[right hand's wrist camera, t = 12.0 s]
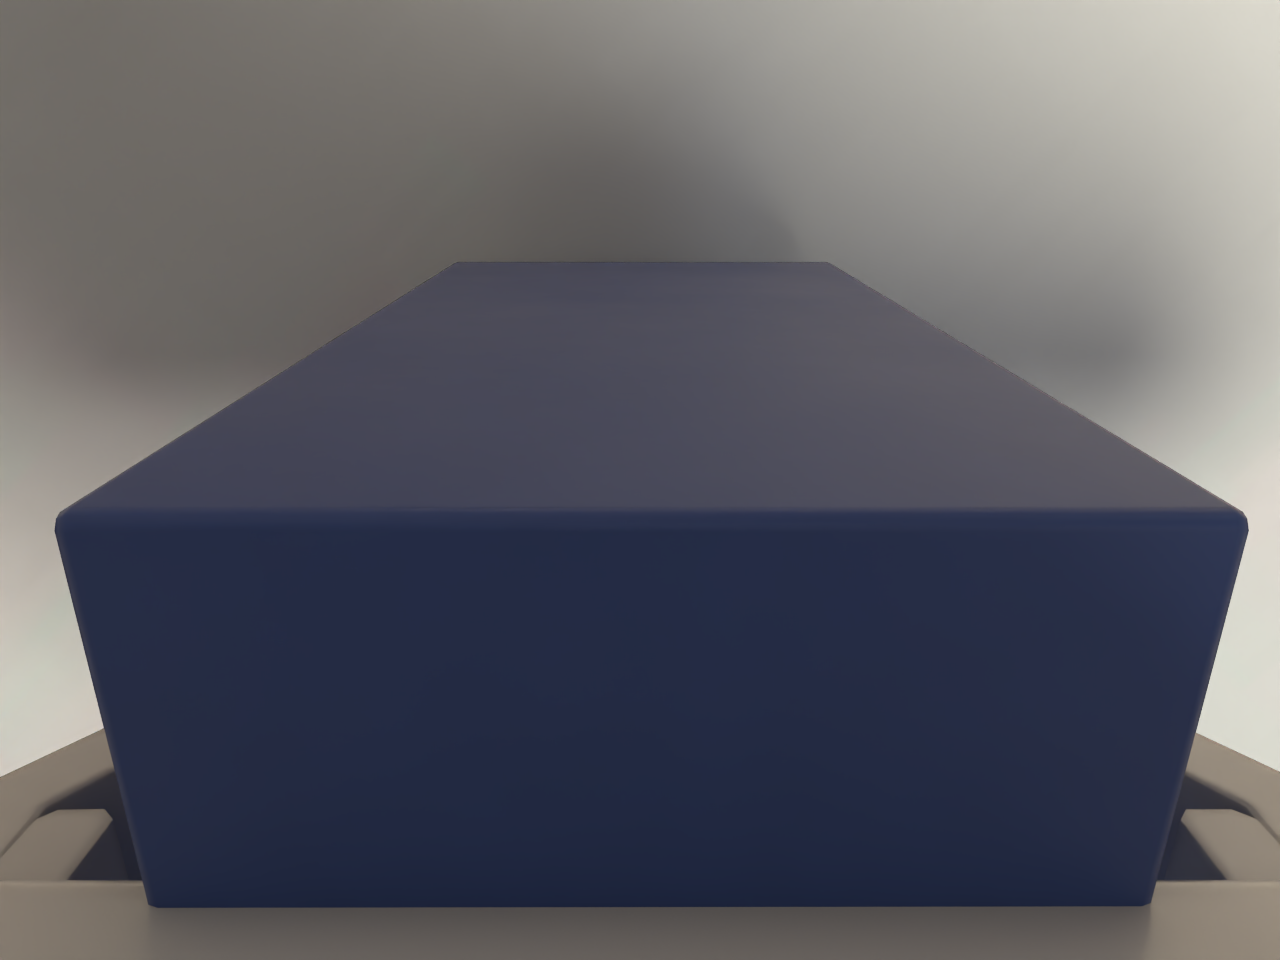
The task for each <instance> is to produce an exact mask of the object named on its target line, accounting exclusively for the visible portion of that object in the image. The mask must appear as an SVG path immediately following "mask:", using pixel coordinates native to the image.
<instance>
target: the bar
mask: <svg viewBox="0 0 1280 960" xmlns="http://www.w3.org/2000/svg"><path fill="white" fill-rule="evenodd" d="M1248 531H1249V530H1248V522H1247V518H1246V516H1245V515H1244V513H1243V512H1242V511H1240V510H1239V509H1237V508H1235V507H1234V506H1232V505H1230V504H1229V503H1227V502H1225V501H1224V500H1222V499H1220V498H1219V497H1217V496H1215V495H1214V494H1212V493H1211V492H1209V491H1207V490H1206V489H1204V488H1202V487H1201V486H1199V485H1197V484H1196V483H1194V482H1192V481H1191V480H1189V479H1187V478H1186V477H1184V476H1182V475H1181V474H1179V473H1177V472H1176V471H1174V470H1172V469H1171V468H1169V467H1167V466H1166V465H1164V464H1162V463H1161V462H1159V461H1157V460H1156V459H1154V458H1152V457H1151V456H1149V455H1147V454H1146V453H1144V452H1142V451H1141V450H1139V449H1137V448H1136V447H1134V446H1132V445H1131V444H1129V443H1127V442H1126V441H1124V440H1122V439H1121V438H1119V437H1117V436H1116V435H1114V434H1112V433H1111V432H1109V431H1107V430H1106V429H1104V428H1103V427H1101V426H1099V425H1098V424H1096V423H1094V422H1093V421H1091V420H1089V419H1088V418H1086V417H1084V416H1083V415H1081V414H1079V413H1078V412H1076V411H1074V410H1073V409H1071V408H1069V407H1068V406H1066V405H1064V404H1063V403H1061V402H1059V401H1058V400H1056V399H1054V398H1053V397H1051V396H1049V395H1048V394H1046V393H1044V392H1043V391H1041V390H1039V389H1038V388H1036V387H1034V386H1033V385H1031V384H1029V383H1028V382H1026V381H1024V380H1023V379H1021V378H1019V377H1018V376H1016V375H1014V374H1013V373H1011V372H1009V371H1008V370H1006V369H1004V368H1003V367H1001V366H1000V365H998V364H996V363H995V362H993V361H991V360H990V359H988V358H986V357H985V356H983V355H981V354H980V353H978V352H976V351H975V350H973V349H971V348H970V347H968V346H966V345H965V344H963V343H961V342H960V341H958V340H956V339H955V338H953V337H951V336H950V335H948V334H946V333H945V332H943V331H941V330H940V329H938V328H936V327H935V326H933V325H931V324H930V323H928V322H926V321H925V320H923V319H921V318H920V317H918V316H916V315H915V314H913V313H911V312H910V311H908V310H906V309H905V308H903V307H901V306H900V305H898V304H896V303H895V302H893V301H892V300H890V299H888V298H887V297H885V296H883V295H882V294H880V293H878V292H877V291H875V290H873V289H872V288H870V287H868V286H867V285H865V284H863V283H862V282H860V281H858V280H857V279H855V278H853V277H852V276H850V275H848V274H847V273H845V272H843V271H842V270H840V269H838V268H837V267H835V266H833V265H832V264H830V263H827V262H457V263H455V264H453V265H451V266H450V267H448V268H446V269H445V270H443V271H442V272H440V273H438V274H437V275H435V276H434V277H432V278H431V279H429V280H427V281H426V282H424V283H423V284H421V285H419V286H418V287H416V288H415V289H413V290H411V291H410V292H408V293H407V294H405V295H404V296H402V297H400V298H399V299H397V300H396V301H394V302H392V303H391V304H389V305H388V306H386V307H385V308H383V309H381V310H380V311H378V312H377V313H375V314H373V315H372V316H370V317H369V318H367V319H365V320H364V321H362V322H361V323H359V324H358V325H356V326H354V327H353V328H351V329H350V330H348V331H346V332H345V333H343V334H342V335H340V336H338V337H337V338H335V339H334V340H332V341H331V342H329V343H327V344H326V345H324V346H323V347H321V348H319V349H318V350H316V351H315V352H313V353H312V354H310V355H308V356H307V357H305V358H304V359H302V360H300V361H299V362H297V363H296V364H294V365H292V366H291V367H289V368H288V369H286V370H285V371H283V372H281V373H280V374H278V375H277V376H275V377H273V378H272V379H270V380H269V381H267V382H266V383H264V384H262V385H261V386H259V387H258V388H256V389H254V390H253V391H251V392H250V393H248V394H246V395H245V396H243V397H242V398H240V399H239V400H237V401H235V402H234V403H232V404H231V405H229V406H227V407H226V408H224V409H223V410H221V411H219V412H218V413H216V414H215V415H213V416H212V417H210V418H208V419H207V420H205V421H204V422H202V423H200V424H199V425H197V426H196V427H194V428H193V429H191V430H189V431H188V432H186V433H185V434H183V435H181V436H180V437H178V438H177V439H175V440H173V441H172V442H170V443H169V444H167V445H166V446H164V447H162V448H161V449H159V450H158V451H156V452H154V453H153V454H151V455H150V456H148V457H147V458H145V459H143V460H142V461H140V462H139V463H137V464H135V465H134V466H132V467H131V468H129V469H127V470H126V471H124V472H123V473H121V474H120V475H118V476H116V477H115V478H113V479H112V480H110V481H108V482H107V483H105V484H104V485H102V486H101V487H99V488H97V489H96V490H94V491H93V492H91V493H89V494H88V495H86V496H85V497H83V498H81V499H80V500H78V501H77V502H75V503H74V504H72V505H70V506H69V507H67V508H66V509H64V510H62V511H61V512H60V513H59V515H58V517H57V518H56V524H55V534H56V538H57V542H58V546H59V550H60V554H61V558H62V562H63V566H64V570H65V574H66V578H67V582H68V586H69V590H70V594H71V598H72V602H73V606H74V610H75V614H76V618H77V622H78V626H79V630H80V634H81V638H82V642H83V646H84V650H85V654H86V658H87V662H88V666H89V670H90V674H91V678H92V682H93V686H94V690H95V694H96V698H97V702H98V706H99V710H100V714H101V718H102V722H103V726H104V730H105V734H106V738H107V742H108V746H109V750H110V754H111V758H112V762H113V766H114V770H115V774H116V778H117V782H118V786H119V790H120V794H121V798H122V802H123V806H124V810H125V814H126V818H127V822H128V826H129V830H130V834H131V838H132V842H133V846H134V850H135V854H136V858H137V862H138V866H139V870H140V874H141V878H142V882H143V886H144V890H145V894H146V898H147V902H148V905H151V906H154V907H157V908H399V907H1052V906H1144V905H1147V904H1150V903H1151V900H1152V897H1153V893H1154V889H1155V885H1156V881H1157V878H1158V874H1159V870H1160V866H1161V862H1162V859H1163V855H1164V851H1165V847H1166V843H1167V840H1168V836H1169V832H1170V828H1171V824H1172V820H1173V817H1174V813H1175V809H1176V805H1177V801H1178V798H1179V794H1180V790H1181V786H1182V782H1183V779H1184V775H1185V771H1186V767H1187V763H1188V760H1189V756H1190V752H1191V748H1192V744H1193V740H1194V737H1195V733H1196V729H1197V725H1198V721H1199V718H1200V714H1201V710H1202V706H1203V702H1204V699H1205V695H1206V691H1207V687H1208V683H1209V680H1210V676H1211V672H1212V668H1213V664H1214V660H1215V657H1216V653H1217V649H1218V645H1219V641H1220V638H1221V634H1222V630H1223V626H1224V622H1225V619H1226V615H1227V611H1228V607H1229V603H1230V600H1231V596H1232V592H1233V588H1234V584H1235V580H1236V577H1237V573H1238V569H1239V565H1240V561H1241V558H1242V554H1243V550H1244V546H1245V542H1246V539H1247V535H1248Z"/></svg>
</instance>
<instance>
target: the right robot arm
mask: <svg viewBox="0 0 1280 960" xmlns="http://www.w3.org/2000/svg"><path fill="white" fill-rule="evenodd" d="M0 960H1280V772H1279V771H1277V770H1275V769H1272V768H1270V767H1268V766H1266V765H1264V764H1262V763H1260V762H1257V761H1255V760H1253V759H1251V758H1249V757H1247V756H1245V755H1242V754H1240V753H1238V752H1236V751H1234V750H1232V749H1230V748H1227V747H1225V746H1223V745H1221V744H1219V743H1217V742H1215V741H1213V740H1210V739H1208V738H1206V737H1204V736H1202V735H1200V734H1198V733H1195V737H1194V740H1193V744H1192V748H1191V752H1190V756H1189V760H1188V763H1187V767H1186V771H1185V775H1184V779H1183V782H1182V786H1181V790H1180V794H1179V798H1178V801H1177V805H1176V809H1175V813H1174V817H1173V820H1172V824H1171V828H1170V832H1169V836H1168V840H1167V843H1166V847H1165V851H1164V855H1163V859H1162V862H1161V866H1160V870H1159V874H1158V878H1157V881H1156V885H1155V889H1154V893H1153V897H1152V900H1151V903H1150V904H1147V905H1144V906H1052V907H399V908H157V907H154V906H151V905H148V902H147V898H146V894H145V890H144V886H143V882H142V878H141V874H140V870H139V866H138V862H137V858H136V854H135V850H134V846H133V842H132V838H131V834H130V830H129V826H128V822H127V818H126V814H125V810H124V806H123V802H122V798H121V794H120V790H119V786H118V782H117V778H116V774H115V770H114V766H113V762H112V758H111V754H110V750H109V746H108V742H107V738H106V734H105V730H104V729H102V730H99V731H97V732H95V733H93V734H91V735H89V736H87V737H85V738H82V739H80V740H78V741H76V742H74V743H72V744H70V745H68V746H66V747H63V748H61V749H59V750H57V751H55V752H53V753H51V754H49V755H46V756H44V757H42V758H40V759H38V760H36V761H34V762H32V763H29V764H27V765H25V766H23V767H21V768H19V769H17V770H15V771H12V772H10V773H8V774H6V775H4V776H2V777H0Z"/></svg>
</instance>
